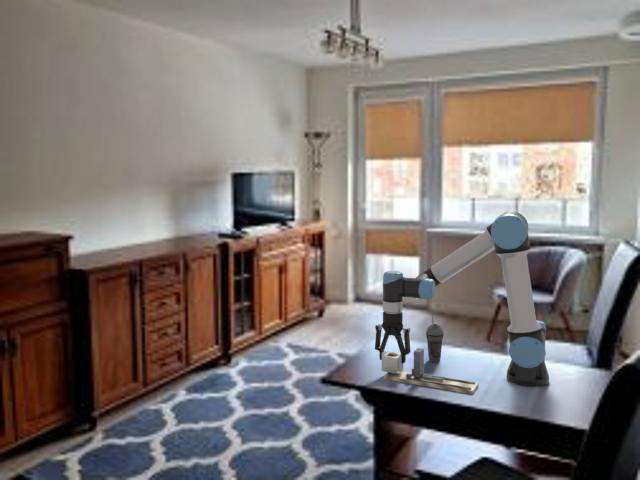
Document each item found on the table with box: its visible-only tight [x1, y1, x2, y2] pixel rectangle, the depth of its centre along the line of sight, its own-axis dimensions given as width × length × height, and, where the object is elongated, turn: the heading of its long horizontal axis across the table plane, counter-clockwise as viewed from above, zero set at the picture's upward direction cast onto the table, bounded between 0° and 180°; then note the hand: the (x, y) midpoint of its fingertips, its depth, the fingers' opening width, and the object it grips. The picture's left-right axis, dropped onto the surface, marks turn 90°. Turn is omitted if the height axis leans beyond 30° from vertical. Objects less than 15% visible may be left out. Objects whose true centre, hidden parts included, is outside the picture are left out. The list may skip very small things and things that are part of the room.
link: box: [381, 351, 401, 374], centre depth 223 cm, size 6×6×6 cm
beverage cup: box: [425, 313, 445, 364], centre depth 240 cm, size 7×7×20 cm
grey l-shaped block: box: [413, 347, 443, 381], centre depth 216 cm, size 11×5×10 cm, turn 62°
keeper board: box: [383, 352, 479, 395], centre depth 216 cm, size 34×8×9 cm, turn 62°
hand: (392, 369), depth 223 cm, fingers closed on link, 6 cm apart
